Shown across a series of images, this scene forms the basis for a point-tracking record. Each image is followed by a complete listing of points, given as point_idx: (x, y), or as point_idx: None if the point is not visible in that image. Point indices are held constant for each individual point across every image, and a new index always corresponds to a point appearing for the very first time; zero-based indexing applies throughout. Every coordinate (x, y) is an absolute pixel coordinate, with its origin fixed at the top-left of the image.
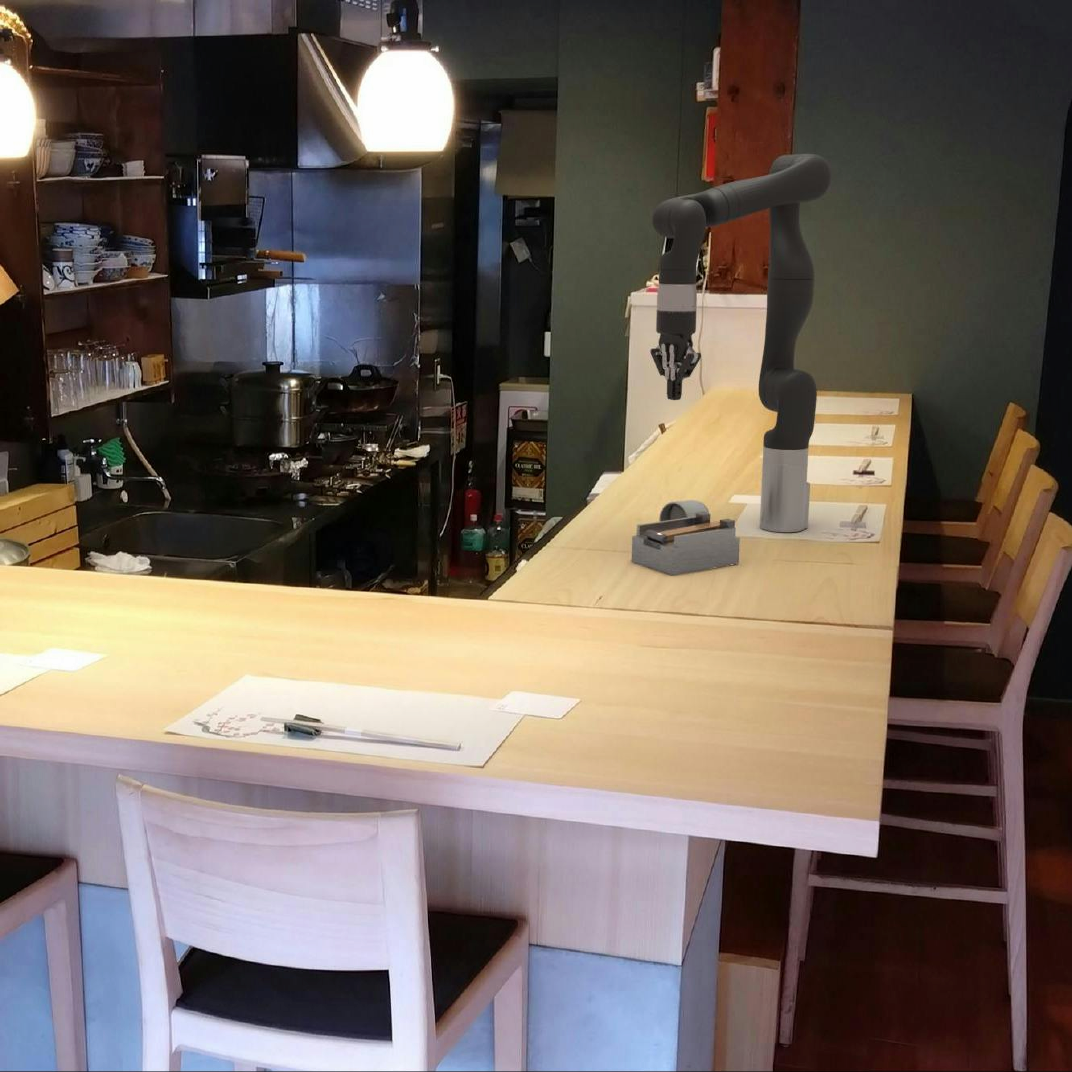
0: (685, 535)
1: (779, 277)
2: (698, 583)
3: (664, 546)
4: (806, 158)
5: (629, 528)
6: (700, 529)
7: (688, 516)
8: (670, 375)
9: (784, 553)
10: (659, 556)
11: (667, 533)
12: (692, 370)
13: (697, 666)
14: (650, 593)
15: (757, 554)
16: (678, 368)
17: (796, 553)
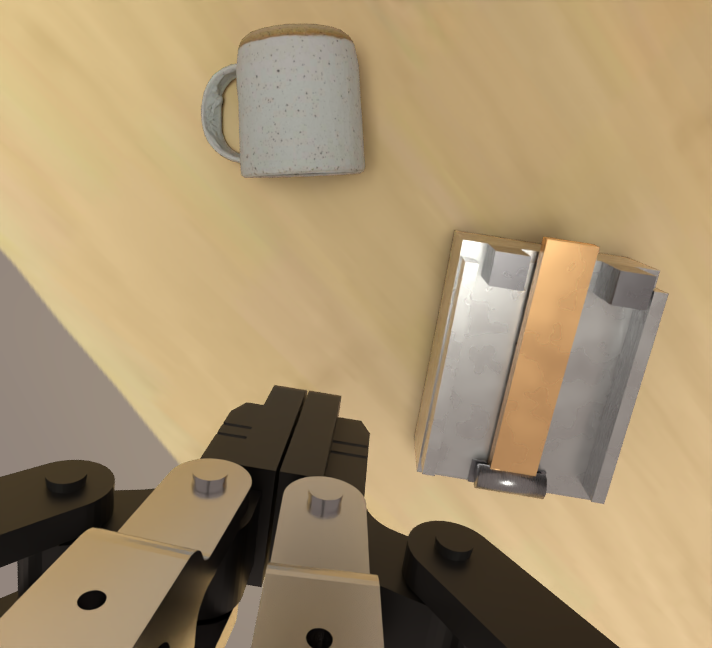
0: (610, 474)
1: None
2: (658, 469)
3: (556, 493)
4: None
5: (130, 166)
6: (568, 355)
7: (359, 167)
8: (230, 611)
9: (660, 46)
10: None
11: (523, 451)
12: (576, 632)
13: None
14: (626, 593)
15: (604, 125)
16: (213, 554)
17: (689, 15)
